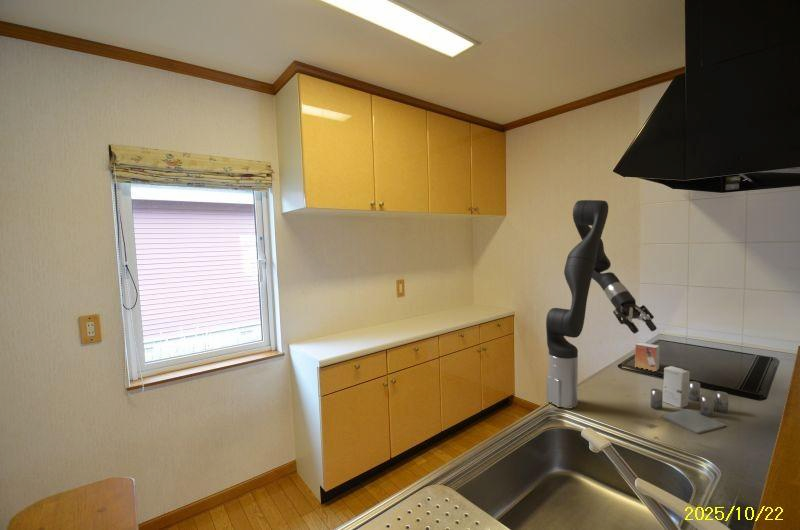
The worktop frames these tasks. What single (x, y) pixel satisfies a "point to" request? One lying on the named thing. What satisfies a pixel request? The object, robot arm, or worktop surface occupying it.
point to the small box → (647, 356)
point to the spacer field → (694, 395)
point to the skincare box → (676, 386)
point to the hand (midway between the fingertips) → (645, 331)
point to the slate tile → (692, 421)
